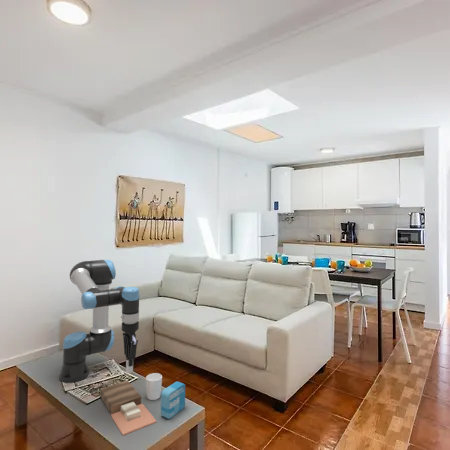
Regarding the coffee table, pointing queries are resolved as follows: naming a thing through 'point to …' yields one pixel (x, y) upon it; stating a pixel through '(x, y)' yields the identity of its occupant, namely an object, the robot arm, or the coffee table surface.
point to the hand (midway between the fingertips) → (129, 372)
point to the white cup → (153, 386)
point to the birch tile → (130, 411)
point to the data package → (172, 399)
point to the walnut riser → (119, 396)
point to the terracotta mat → (133, 421)
